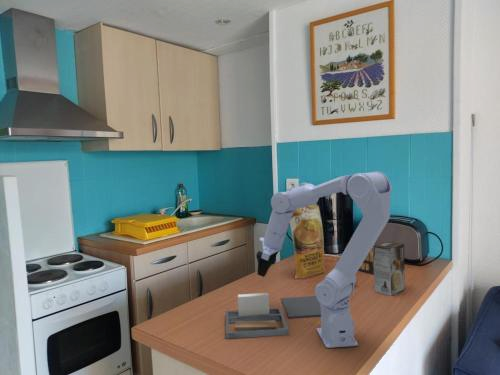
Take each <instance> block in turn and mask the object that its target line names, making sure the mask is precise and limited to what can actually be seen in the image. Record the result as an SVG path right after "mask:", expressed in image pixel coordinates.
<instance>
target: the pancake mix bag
mask: <svg viewBox="0 0 500 375" xmlns="http://www.w3.org/2000/svg"><path fill="white" fill-rule="evenodd" d="M322 220H323V219H322V216H321V211H320V206H319V205H318V203H316V204H313V205H310V206H306V207H303V208H299V209H297V210H296V211H294V212H293V215H292V216H291V219H290V223H289V225H290V233H291V239H292V242H293V249H294V250H293V251H294V253H293V255H294V260H295V273H294V279H295V280H296V279H299V280H303V279H308V278H311V277H312V278H313V277H315V276H318V275H321V274H325V270H326V269H325V268H326V267H325V249H324V248H325V246H324V245H325V243H324V238H325V237H324V229H323V227H324V226H323V221H322Z"/></svg>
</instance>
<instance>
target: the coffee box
mask: <svg viewBox="0 0 500 375" xmlns="http://www.w3.org/2000/svg"><path fill="white" fill-rule="evenodd" d="M373 249H374V274H373V275H374V276H373V277H374V292H375V293H376V292H377V293H379V294H383V295H387V296H389V297H391V296H393V295H396V294H397V293H399V292H401V291H403V290H405V243H401V242H400V243H399V242H394V241H393V242H392V241H385V242H382V243H379V244H374V245H373Z"/></svg>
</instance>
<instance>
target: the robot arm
mask: <svg viewBox="0 0 500 375" xmlns="http://www.w3.org/2000/svg"><path fill="white" fill-rule="evenodd" d="M392 192H393V187H392V184H391V183H390V180H389V178H388V176H387V175H386V174H385V173H384V172H382V171H378V170H376V171H375V170H374V171H370V172H364V173H362V172H357V173H354V174H347V175H342V176H341V175H340V176H339V177H336V178H334V179H331V180H328V181H325V182H323V183H320V184H316V185H314V184H312V183H309V182H308V183H307V182H302V183H299V186H297V187H294V188H293V187H288V188H286V191H282V192H281V191H277V192H276V193H275V194H273V195H272V197H271V199H270V206H271V208H272V211H271V214H270V217H269V221H268V224H267V227H266V231H265V234H264V236H262V237H259V239H258V242H260V243H261V245H262V246H261V247H262V251H260V250H258V251H257V253H256V259H257V275H259V277H263V278H264V277H266V275H267V273H268V271H269V269H270V268H271V267H272V266H273V265H274V264H275V262H276V261H277V259H276V257H277V255H278V254H279V252H280V251H281V250H282V249H283V248H284V247H285V246H284V241H285V238H286V235H287V231H288V228H289V225H290V219H291V216H292V215H293V212H294V211H296V210H297V209H299V208H303V207H306V206H310V205H313V204H318V201H319V199H320V198H323V197H326V196H330V195H335V194H338V193H342V194H343V195H349V196H350V198H351V199H352V201H353V202H354V203H355V204H356V207H357V208H358V209H359V210H360V212H361V214H362V218H361V220H360V222H359V223H358V225H357V227H356V229H355V231H354V232H353V234H352V236H351V237H350V240H349V242H347V244H346V247H345V248H344V251H343V252H342V254H341V255H340V256H341V257H340V256H339V257H340V259H339V261H338V260H337V263H336V264H335V266H334V267H333V269H331V271H330V272H329V273H327V274H326V275H325V277H324V279H323V280H322V281H320V282H318V283H317V284H316V286H315V287H314V294H315V295H314V296H316V298H317V300H318V301H319V303H320V305H321V316H320V327H317V328H316V332H317V333H318V335H319V337H320V339H321V340H322V342H323V345H324V346H325V347H326V348H327V349H328V348H329V349H330V348H331V349H332V348H346V347H347V348H348V347H358V346H359V343H358V342H357V340H356V338H355V321H354V318H353V316H352V315H351V312H350V308H351V307H350V306H351V305H350V302H351V300H350V296H351V295H352V294H353V293H354V291H355V283H356V281H357V279H358V277H357V276H356V274H358V272H359V271H358V270H359V268H360V267H361V265H362V263H363V262H364V260H365V258H366V257H367V255H368V253H369V252H370V250H371V248H372V247H373V248H374V246H375V243H376V242H377V240H378V238H379V237H380V235H381V234H382V232H383V230H384V229H385V227H386V225H387V223H388V222H389V221H390V217H391V194H392Z"/></svg>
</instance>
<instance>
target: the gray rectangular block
mask: <svg viewBox="0 0 500 375" xmlns="http://www.w3.org/2000/svg"><path fill="white" fill-rule="evenodd" d="M237 308H238V313H239V316H252V315H267V314H270V313H269V308H270V294H269V292H260V293H258V292H257V293H244V294H237Z"/></svg>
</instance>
